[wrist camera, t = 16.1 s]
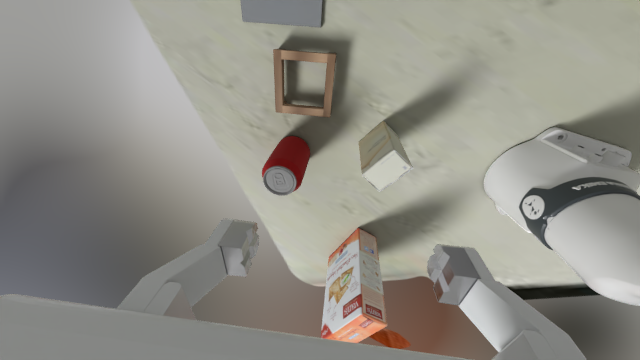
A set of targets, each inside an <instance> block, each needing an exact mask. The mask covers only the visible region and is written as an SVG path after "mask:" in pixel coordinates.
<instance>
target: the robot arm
mask: <svg viewBox="0 0 640 360" xmlns="http://www.w3.org/2000/svg"><path fill="white" fill-rule="evenodd" d="M559 136H560V137H559ZM558 137H559V138H558ZM631 156H632V153H631V152H630V151H628V150H627V149H625V148H622V147H618V146H615V145H612V144H609V143H606V142H602V141H599V140H596V139H593V138H590V137H586V136H583V135H580V134H577V133H574V132H570V131H567V130H564V129H561V128H557V127H553V128H550V129H548V130H546V131H544V132H543V133H541V134H540V135H538V136H537V137H536V138H534V139H532V140H530V141H528V142H525V143H522V144H520V145H517V146H515V147H513V148H511V149H510V150H508V151H506V152H505V153H503V154H502V155H501V156H500V157H498V158H497V159H496V160H495V161H494V162H493V164H492V165H491V166H490V168H489V169H488V171H487V173H486V175H485V179H484V189H485V192H486V194H487V195H488V196H489V197H490V198H491V199H492V200H493V201H494V202H495V205H496V209H497V211H498V212H499V213H501V214H502V215H508V216H510V217H511V218H512V219H513V220H514V221H515V222H516V223H517V224H518V225H520V226H521V227H522V228H523V229H524V230H525V231H527V232H529V233H533V234H534V236H535V237H536V238H537V239H538V240H539V241H540V242H542V243H543V244H544V245H545V246H546V247H548V248H549V249H551V250H554V251H555V252H556V253H557V254H558V255H559V256H560V257H561V258H562V259H563V260H564V261H565V262H566V263H567V265H568V266H569V267H570V268H571V269H572V270H573V271H574V272H575V273H576V274H577V275H578V276H579V277H580V278H581V279H582V280H583V281H584V282H585V283H586V284H587V285H588V286H589V287H590V288H591V289H593V290H594V291H596V292H597V293H599V294H601V295H603V296H605V297H608V298H611V299H613V300H616V301H620V302H623V303H627V304H631V305H637V306H640V196H639V195H638V194H637V192H636V191H637V189H638V187H639V185H640V174H639V173H638V172H636V171H635V170H633V169H631V168H629V167H628V166H629V164H630V161H631ZM257 229H258V227H257V223H255V222H248V221H242V220H233V219H223V220H221V222H220V223H219V225H218V226H217V227H216V229H215V230H214V232H213V233H212V235H211V236H210V237H209V239H208V240H207V242H206V243H205V245H203V244H201V245H199V246H197V247H196V248H194V249H192V250H191V251H189V252H187V253H185V254H184V255H181V256H180V257H178V258H176V259H174V260H173V261H171V262H169V263H167V264H166V265H164V266H162V267H160V268H159V269H157V270H155V271H153V272H151V273H150V274H148V275H146V276H144V277H143V278H142V279H141V280H140V282H139V283H138V284H137V285H136V286H135V288H134V289H133V290H132V291H131V292H130V293H129V294H128V296H127V297H126V298H125V299H124V300H123V302H122V303H121V304H120V305H119V306H118V307H117V309H114V308H107V307H100V306H93V305H86V304H79V303H72V302H65V301H58V300H52V299H45V298H38V297H31V296H24V295H17V294H9V295H3V296H0V360H471V359H463V358H457V357H450V356H443V355H436V354H429V353H422V352H415V351H408V350H401V349H394V348H387V347H380V346H373V345H366V344H359V343H352V342H345V341H338V340H331V339H324V338H316V337H310V336H303V335H296V334H289V333H282V332H275V331H268V330H261V329H254V328H247V327H240V326H233V325H226V324H219V323H212V322H205V321H198V320H196V318H195V316H194V314H193V311H192V309H191V307H192V306H193V305H194V304H195V303H197V302H198V301H199V300H200V299H201V298H202V297H203V296H205V295H206V294H207V293H208V292H209V291H210V290H211V289H212V288H214V287H215V286H216V285H217V284H219V283H220V282H221V281H222V280H223V279H224V278H225V277H227V275H234V276H244V277H246V276H247V274H248V271H249V269H250V266H251V264H252V263H251V258H253V257H254V256H255V255H256V252H257V249H258V245H259V236H258V235H257V234H256V231H257ZM433 250H434V253H435V254H434V255H432V256H430V258H429V260H428V266H427V269H428V274H429V277H430V279H431V280H432V281H433V282H434V283H435V284H434V286H433V289H434V292H435V294H436V297H437V300H438V302H441V303H447V304H453V305H459V307H460V308H461V310H462V311H463V312H464V313H465V314H466V315H467V316H468V318H469V319H470V320H471V321H472V322H473V323H474V325H475V326H476V327H477V328H478V329H479V330H480V331H481V332H482V334H483V335H484V336H485V337H486V338H487V339H488V341H489V342H490V343H491V344H492V345H493V346H494V347H495V349H496V350H497V351H498V352H499V353H498V354H497V355H496V356H495V357H494V358H493V359H492V360H587V359H586V358H585V357H584V355H583V354H582V353H581V351H580V350H579V348H578V347H577V346H576V345H575V343H574V342H573V341H572V339H571V338H570V336H569V335H568V334H567V333H565V332H564V331H563V330H561V329H560V328H559V327H557V326H556V325H555V324H554V323H552V322H551V321H550V320H548V319H547V318H546V317H544V316H543V315H542V314H541V313H539V312H538V311H537V310H535V309H534V308H533V307H531V306H530V305H529V304H528V303H526V302H525V301H524V300H522V299H521V298H520V297H519V296H517V295H516V294H515V293H513V292H512V291H511V290H509V289H508V288H507V287H506V286H504V285H503V284H502V283H500V282H497V281H495V280H494V278H493V276H492V275H491V273H490V271H489V270H488V268H487V267H486V265H485V263H484V262H483V260H482V259H481V257H480V255H479V254H478V252H477V251H476V250H475V249H474V248H469V247H459V246H450V245H441V244H437V245H436V246H435V248H434V249H433Z"/></svg>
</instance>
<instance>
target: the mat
mask: <svg viewBox="0 0 640 360" xmlns="http://www.w3.org/2000/svg"><path fill="white" fill-rule="evenodd" d="M322 1H323V0H241V9H242V20H243V21H244V22H257V23H270V24H283V25H296V26H309V27H321V19H322Z"/></svg>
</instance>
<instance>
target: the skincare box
mask: <svg viewBox="0 0 640 360" xmlns="http://www.w3.org/2000/svg"><path fill="white" fill-rule="evenodd" d="M359 150H360V160H361V170H362V176H363V177H364V178H365V179H366V180H367V181H368V182H369V183H370V184H372V185H373V186H374V187H375V188H376V189H377V190H378V191H382V190H383V189H385V188H386V187H388V186H389V185H391V184H392V183H393V182H395V181H396V180H398V179H399V178H400V177H402V176H403V175H405V174H406V173H407V172H409V171H410V170H411V169H413V167H412V165H411V163H410V161H409V159H408V157H407V154H406V152H405V150H404V148H403V146H402V144H401V142H400V140H399V137H398V136H397V134H396V133H395V132H394V131H393V130H392V129H391V128H390V127H389V126H388V125H387V124H386V123H385V122H384V121H383V122H381V123H380V124H379V125H378V126H377V127H375V128H374V129H373V130H372V131H371V132H370V133H368V134H367V135H366V136H365V137H364V138H363V139H362V140H361V141H359Z"/></svg>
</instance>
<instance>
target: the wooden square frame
mask: <svg viewBox="0 0 640 360" xmlns="http://www.w3.org/2000/svg"><path fill="white" fill-rule="evenodd" d="M273 53H274V79H275V105H276V112H280V113H290V114H300V115H311V116H321V117H330V115H331V107H332V106H331V104H332V93H333V82H334V71H335V62H336V53H317V52H305V51H292V50H286V49H274V50H273ZM284 59H285V60H297V61H309V62H320V63H327V68H326V82H325V96H324V107H316V106H305V105H295V104H286V101H284Z"/></svg>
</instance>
